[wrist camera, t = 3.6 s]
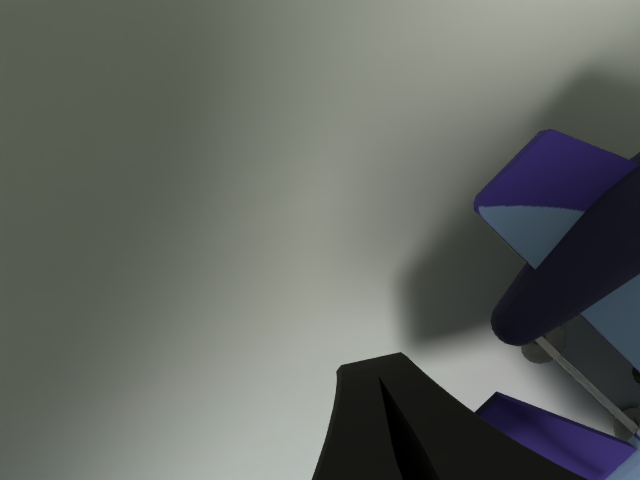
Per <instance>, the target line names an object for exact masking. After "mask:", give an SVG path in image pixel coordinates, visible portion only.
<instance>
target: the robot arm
mask: <svg viewBox="0 0 640 480" xmlns="http://www.w3.org/2000/svg"><path fill="white" fill-rule="evenodd" d="M336 372H337V386H336V394H335V400H334V406H333V411H332V415H331V419H330V423H329V427H328V431H327V435H326V439H325V442H324V445H323V448H322V451H321V454H320V457H319V460H318V463H317V466H316V469H315V472H314V475H313V477H312V480H588V479H586V478H584V477H582V476H579V475H577V474H575V473H573V472H571V471H570V470H568V469H566V468H564V467H562V466H560V465H558V464H556V463H554V462H552V461H550V460H549V459H547V458H545V457H543V456H541V455H540V454H538V453H536V452H534V451H533V450H531V449H529V448H527V447H525V446H524V445H522V444H520V443H519V442H517V441H516V440H514V439H512V438H511V437H509V436H508V435H506V434H505V433H503V432H502V431H500V430H499V429H497V428H496V427H494V426H493V425H491V424H490V423H488V422H487V421H485V420H484V419H482V418H481V417H480V416H478V415H477V414H475V413H474V412H473V411H471V410H470V409H469V408H467V407H466V406H465V405H463V404H462V403H461V402H459V401H458V400H457V399H456V398H454V397H453V396H452V395H450V394H449V393H448V392H447V391H445V390H444V389H443V388H442V387H440V386H439V385H438V384H437V383H436V382H435V381H433V380H432V379H431V378H430V377H429V376H428V375H426V374H425V373H424V372H423V371H422V370H421V369H420V368H419V367H417V366H416V365H415V364H414V363H413V362H412V361H411V360H410V359H409V358H408V357H407V356H405V355H404V354H402V353H401V352H399V353H395V354H390V355H385V356H381V357H376V358H372V359H367V360H363V361H358V362H354V363H349V364H345V365H341V366H340V367H339V369H338V370H337V371H336Z"/></svg>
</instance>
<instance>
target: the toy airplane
mask: <svg viewBox="0 0 640 480" xmlns="http://www.w3.org/2000/svg"><path fill="white" fill-rule="evenodd" d="M474 211H475V212H476V213H477V214H478V215H479V216H480V217H481V218H482V219H483V220H484V221H485V222H486V223H487V224H489V225H490V226H491V227H492V228H493V229H494V230H495V231H496V232H497V233H498V234H499V235H500V236H501V237H502V238H503V239H504V240H505V241H506V242H507V243H508V244H509V245H510V246H511V247H512V248H513V249H514V250H515V251H516V252H517V253H518V254H519V255H520V256H521V257H522V258H523V259H524V260H525V261H526V262H527V263H526V265H525V266H524V267H523V269H522V270H521V271H520V273H519V274H518V276H517V277H516V279H515V280H514V281H513V283H512V284H511V286H510V287H509V289H508V290H507V291H506V293H505V294H504V296H503V297H502V298H501V300H500V301H499V303H498V304H497V306H496V307H495V308H494V310H493V312H492V316H491V325H492V330H493V331H494V333H495V335H496V336H497V337H498V338H499V339H500V340H501V341H503V342H504V343H506V344H510V345H514V346H521V349H522V353H523V354H524V356H525V357H526V358H527V359H528V360H529V361H531V362H533V363H546V362H549V361H551V360H553V359H554V360H555V361H556V362H558V363H559V364H560V365H561V366H562V367H563V368H564V369H565V370H566V371H567V372H568V373H569V374H570V375H571V376H572V377H574V378H575V379H576V380H577V381H578V382H579V383H580V384H581V385H582V386H583V387H584V388H585V389H586V390H587V391H588V392H590V393H591V394H592V395H593V396H594V397H595V398H596V399H597V400H598V401H599V402H600V403H601V404H602V405H603V406H604V407H606V408H607V409H608V410H609V411H610V412H611V413H612V414H613V415H614V416H615V417H616V419H615V421H614V426H613V428H614V433H615V436H616V437H614V436H611V435H608V434H606V433H603V432H601V431H598V430H595V429H593V428H590V427H588V426H585V425H582V424H580V423H577V422H575V421H572V420H569V419H567V418H564V417H561V416H559V415H556V414H554V413H551V412H548V411H546V410H543V409H541V408H538V407H535V406H533V405H530V404H528V403H525V402H522V401H520V400H517V399H515V398H512V397H509V396H507V395H504V394H502V393H499V392H495V393H494V394H493V395H492V396H491V397H490V398H489V399H488V400H487V401H486V402H485V403H484V404H483V405H482V406H481V407H480V408H479V409H478V410H476V411H475V412H474V413H475V414H477V415H478V416H480V417H481V418H482V419H484V420H485V421H487V422H488V423H490V424H491V425H493V426H494V427H496V428H497V429H499V430H500V431H502V432H503V433H505V434H506V435H508V436H509V437H511V438H512V439H514V440H516V441H517V442H519V443H520V444H522V445H524V446H525V447H527V448H529V449H531V450H533V451H534V452H536V453H538V454H540V455H541V456H543V457H545V458H547V459H549V460H550V461H552V462H554V463H556V464H558V465H560V466H562V467H564V468H566V469H568V470H570V471H571V472H573V473H575V474H577V475H579V476H582V477H584V478H586V479H588V480H640V408H629V409H627V410H624V411H623V412H622V411H621V410H620V409H619V408H617V407H616V406H615V405H614V404H613V403H612V402H611V401H610V400H609V399H608V398H607V397H606V396H605V395H604V394H603V393H601V392H600V391H599V390H598V389H597V388H596V387H595V386H594V385H593V384H592V383H591V382H590V381H589V380H588V379H587V378H585V377H584V376H583V375H582V374H581V373H580V372H579V371H578V370H577V369H576V368H575V367H574V366H573V365H572V364H571V363H569V362H568V361H567V360H566V359H565V358H564V357H563V356H562V355H561V354H560V353H561V352H562V350H563V349H564V346H565V340H566V337H565V334H564V332H563V330H562V328H561V327H560V325H561V324H563V323H565V322H567V321H568V320H570V319H572V318H573V317H575V316H577V315H578V314H580V315H581V316H582V317H583V318H584V319H585V320H586V321H587V322H588V323H589V324H590V325H591V326H592V327H593V328H595V329H596V330H597V331H598V332H599V333H600V334H601V335H602V336H603V337H604V338H605V339H606V340H607V341H608V342H609V343H610V344H611V345H612V346H613V347H614V348H615V349H616V350H617V351H618V352H619V353H620V354H621V355H622V356H623V357H624V358H625V359H626V360H627V361H628V362H629V363H630V364H631V365H632V366H633V370H632V375H633V377H634V379H635V381H636V382H637V383H638V384H640V153H638V154H637V155H636V156H634V157H633V158H632V159H630V160H628V159H626V158H623V157H621V156H618V155H616V154H613V153H611V152H608V151H605V150H603V149H600V148H598V147H595V146H593V145H590V144H588V143H585V142H583V141H580V140H578V139H575V138H573V137H570V136H568V135H565V134H563V133H560V132H558V131H555V130H550V129H548V130H544V131H540V132H539V133H538V134H537V135H536V136H535V137H534V138H533V139H532V140H531V141H530V142H529V143H528V144H527V145H526V146H525V147H524V148H523V149H522V150H521V151H520V152H519V153H518V154H517V155H516V156H515V157H514V158H513V159H512V160H511V161H510V162H509V163H508V164H507V165H506V166H505V167H504V168H503V169H502V170H501V171H500V172H499V173H498V174H497V175H496V176H495V177H494V178H493V179H492V180H491V181H490V182H489V183H488V184H487V185H486V186H485V187H484V188H483V189H482V190H481V191H480V192H479V193H478V194H477V196H476V198H475V200H474Z"/></svg>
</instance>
